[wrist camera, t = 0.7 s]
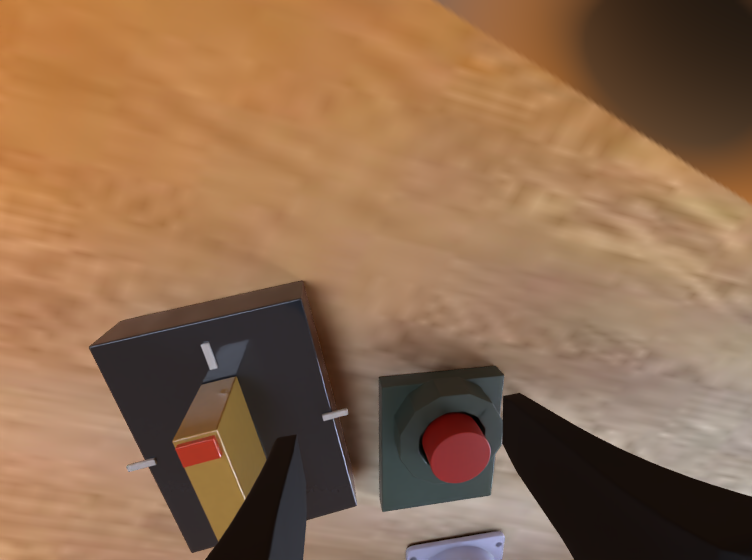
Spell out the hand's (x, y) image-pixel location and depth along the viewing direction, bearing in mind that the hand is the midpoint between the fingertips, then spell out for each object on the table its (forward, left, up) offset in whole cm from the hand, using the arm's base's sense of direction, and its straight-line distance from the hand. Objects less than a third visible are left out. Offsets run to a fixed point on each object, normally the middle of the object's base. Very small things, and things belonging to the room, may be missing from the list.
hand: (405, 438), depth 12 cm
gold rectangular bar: (-5, +7, -7) cm, 11 cm away
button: (-7, -5, -8) cm, 11 cm away
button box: (-9, -5, -10) cm, 14 cm away
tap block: (-5, +7, -10) cm, 13 cm away
